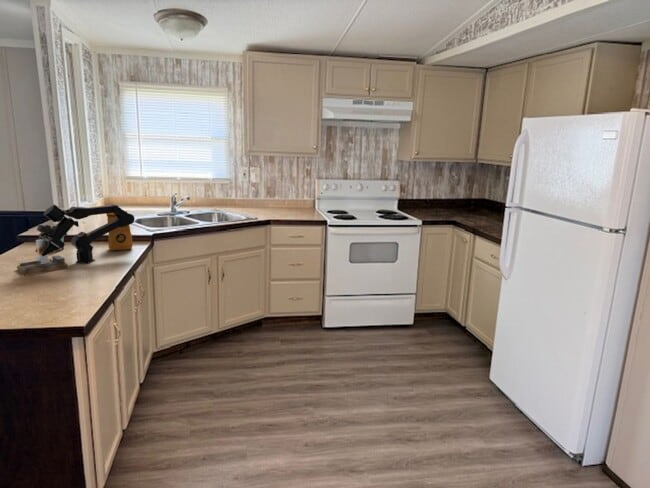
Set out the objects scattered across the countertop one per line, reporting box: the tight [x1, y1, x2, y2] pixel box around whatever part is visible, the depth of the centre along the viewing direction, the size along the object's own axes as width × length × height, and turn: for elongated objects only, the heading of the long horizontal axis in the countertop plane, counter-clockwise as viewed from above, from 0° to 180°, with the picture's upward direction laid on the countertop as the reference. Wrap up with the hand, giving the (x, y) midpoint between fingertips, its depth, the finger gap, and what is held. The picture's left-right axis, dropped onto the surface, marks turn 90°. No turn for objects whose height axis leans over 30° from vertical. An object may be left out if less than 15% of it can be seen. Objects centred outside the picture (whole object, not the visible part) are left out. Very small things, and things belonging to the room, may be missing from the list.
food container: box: [55, 235, 66, 253], centre depth 246 cm, size 12×6×10 cm, turn 47°
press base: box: [16, 255, 69, 276], centre depth 210 cm, size 18×12×4 cm, turn 137°
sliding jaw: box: [35, 238, 51, 265], centre depth 209 cm, size 4×8×12 cm, turn 48°
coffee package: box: [106, 210, 134, 251], centre depth 248 cm, size 10×12×22 cm
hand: (39, 253), depth 208 cm, fingers open, 9 cm apart
